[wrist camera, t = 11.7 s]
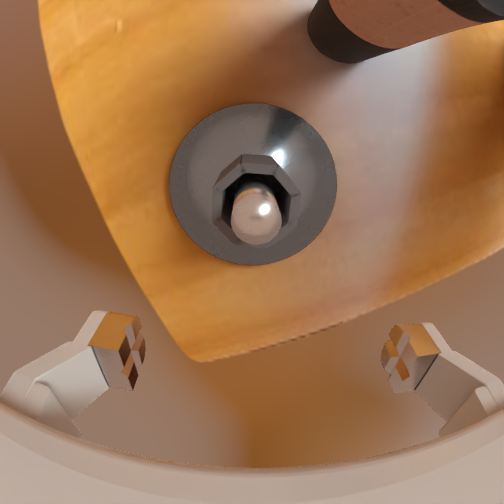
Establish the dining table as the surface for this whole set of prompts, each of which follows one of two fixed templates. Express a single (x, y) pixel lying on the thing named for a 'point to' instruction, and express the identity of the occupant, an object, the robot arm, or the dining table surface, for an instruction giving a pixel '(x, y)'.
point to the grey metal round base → (252, 181)
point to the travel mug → (391, 24)
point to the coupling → (259, 166)
